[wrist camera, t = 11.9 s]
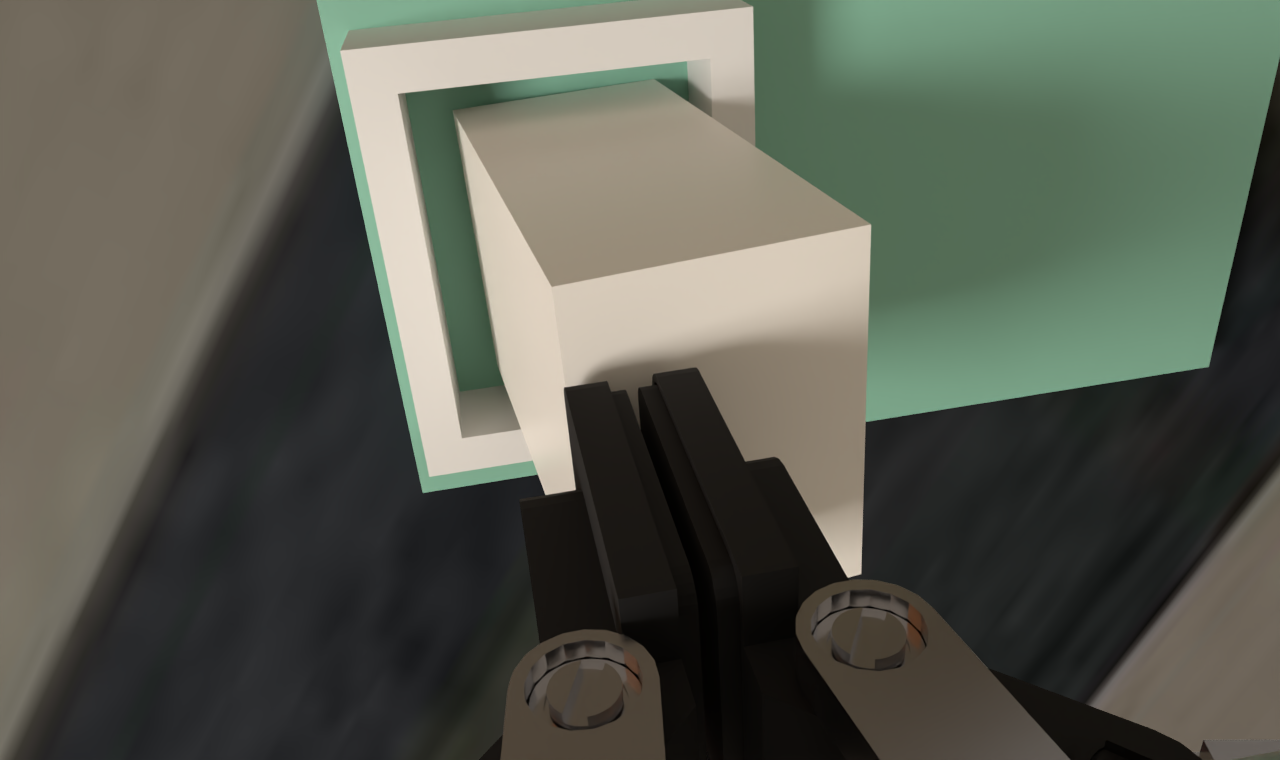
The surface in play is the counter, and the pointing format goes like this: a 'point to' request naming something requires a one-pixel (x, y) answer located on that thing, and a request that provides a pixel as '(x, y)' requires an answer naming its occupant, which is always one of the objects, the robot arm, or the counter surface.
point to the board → (847, 175)
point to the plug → (672, 281)
